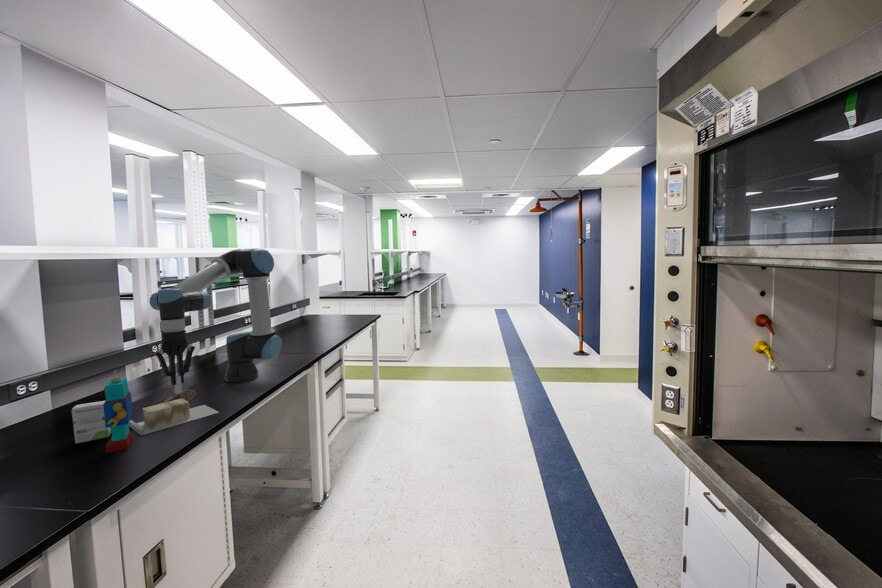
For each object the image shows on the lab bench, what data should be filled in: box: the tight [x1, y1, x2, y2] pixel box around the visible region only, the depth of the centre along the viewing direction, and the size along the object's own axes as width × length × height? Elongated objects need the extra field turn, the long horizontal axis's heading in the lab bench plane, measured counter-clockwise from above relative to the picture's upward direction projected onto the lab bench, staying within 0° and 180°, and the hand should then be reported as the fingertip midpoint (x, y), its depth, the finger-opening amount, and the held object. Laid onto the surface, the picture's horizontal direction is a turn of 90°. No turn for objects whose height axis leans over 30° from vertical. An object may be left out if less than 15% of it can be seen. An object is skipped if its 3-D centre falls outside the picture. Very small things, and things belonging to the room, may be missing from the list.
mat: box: [129, 404, 220, 436], centre depth 146 cm, size 25×14×2 cm, turn 142°
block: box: [142, 398, 190, 429], centre depth 144 cm, size 6×7×12 cm
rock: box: [162, 388, 197, 403], centre depth 164 cm, size 15×10×6 cm
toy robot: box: [103, 369, 134, 454], centre depth 125 cm, size 12×6×25 cm, turn 30°
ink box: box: [71, 400, 112, 444], centre depth 131 cm, size 9×5×12 cm, turn 121°
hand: (178, 392), depth 147 cm, fingers closed
